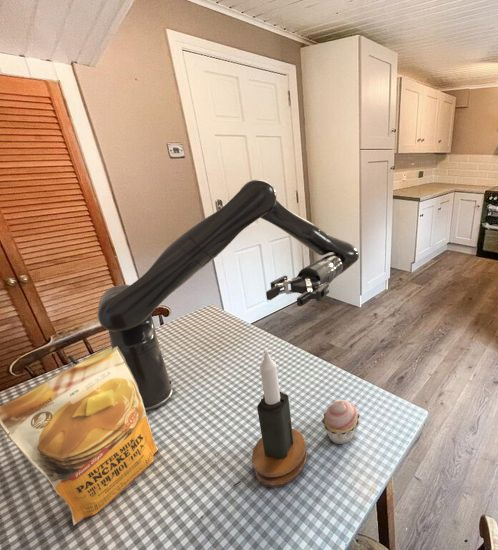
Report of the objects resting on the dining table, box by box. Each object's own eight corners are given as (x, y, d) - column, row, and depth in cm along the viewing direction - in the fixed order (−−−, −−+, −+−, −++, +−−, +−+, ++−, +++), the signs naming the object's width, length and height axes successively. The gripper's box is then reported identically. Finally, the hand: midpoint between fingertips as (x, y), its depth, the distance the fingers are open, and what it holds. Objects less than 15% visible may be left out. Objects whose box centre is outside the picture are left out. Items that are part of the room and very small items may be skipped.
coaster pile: (243, 485, 62) (240, 470, 60) (266, 437, 73) (264, 423, 71) (298, 491, 61) (296, 477, 59) (313, 442, 72) (312, 428, 70)
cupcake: (368, 434, 74) (369, 402, 70) (337, 458, 68) (336, 424, 64) (345, 411, 80) (344, 381, 76) (315, 431, 74) (312, 399, 71)
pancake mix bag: (49, 524, 55) (-23, 407, 45) (150, 439, 72) (114, 339, 62) (72, 539, 53) (3, 419, 43) (171, 448, 70) (138, 345, 60)
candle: (284, 460, 62) (271, 360, 53) (262, 455, 63) (245, 356, 54) (295, 439, 67) (284, 344, 58) (274, 435, 68) (260, 341, 59)
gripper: (295, 259, 85) (255, 280, 71) (340, 266, 80) (308, 289, 66) (297, 284, 88) (259, 308, 74) (341, 291, 83) (310, 319, 69)
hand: (282, 299), depth 70 cm, fingers open, 8 cm apart
